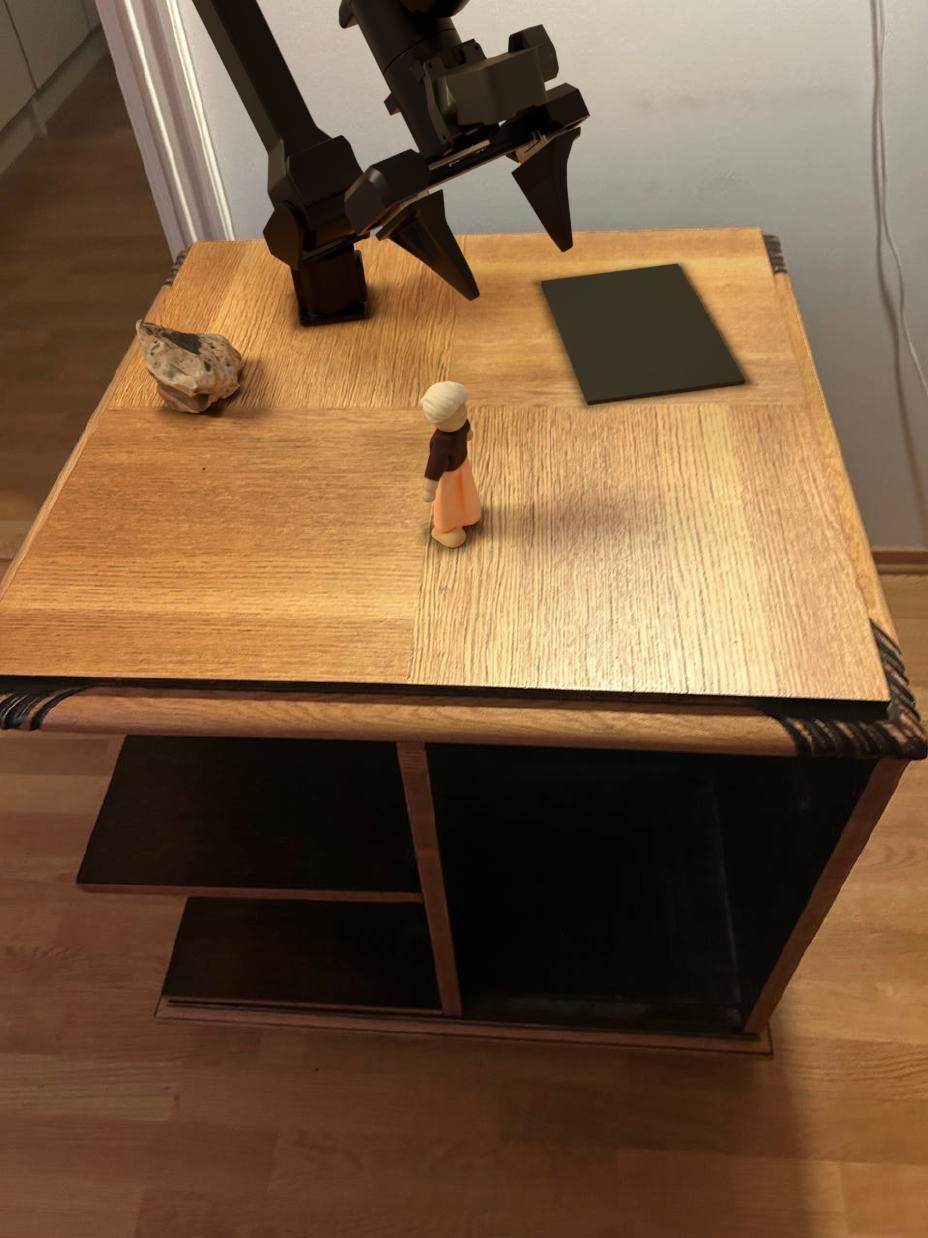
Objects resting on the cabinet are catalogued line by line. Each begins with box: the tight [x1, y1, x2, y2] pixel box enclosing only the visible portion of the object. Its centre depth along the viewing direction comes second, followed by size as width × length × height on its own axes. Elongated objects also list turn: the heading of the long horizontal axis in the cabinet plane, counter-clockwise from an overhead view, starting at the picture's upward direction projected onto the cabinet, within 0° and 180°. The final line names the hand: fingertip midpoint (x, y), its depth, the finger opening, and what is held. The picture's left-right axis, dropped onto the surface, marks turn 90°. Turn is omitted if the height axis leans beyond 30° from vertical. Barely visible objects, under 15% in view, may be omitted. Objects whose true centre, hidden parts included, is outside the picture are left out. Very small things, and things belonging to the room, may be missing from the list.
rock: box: [135, 319, 245, 414], centre depth 81 cm, size 9×7×10 cm
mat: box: [540, 263, 746, 406], centre depth 86 cm, size 14×20×1 cm
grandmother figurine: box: [419, 380, 482, 549], centre depth 66 cm, size 8×4×13 cm, turn 168°
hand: (522, 273), depth 66 cm, fingers open, 9 cm apart
